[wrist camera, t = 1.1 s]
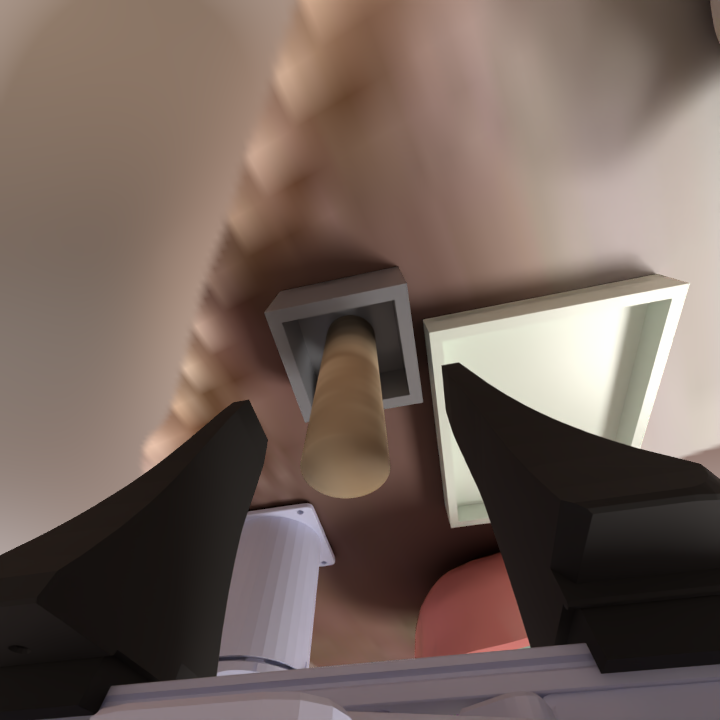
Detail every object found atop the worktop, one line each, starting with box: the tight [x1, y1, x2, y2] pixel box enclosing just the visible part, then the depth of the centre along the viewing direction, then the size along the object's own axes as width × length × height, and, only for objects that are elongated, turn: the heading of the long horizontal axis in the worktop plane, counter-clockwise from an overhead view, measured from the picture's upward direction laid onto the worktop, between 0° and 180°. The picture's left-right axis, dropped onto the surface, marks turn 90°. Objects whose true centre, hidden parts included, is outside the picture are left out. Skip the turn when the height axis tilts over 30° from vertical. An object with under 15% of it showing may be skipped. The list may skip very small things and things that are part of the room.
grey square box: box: [264, 266, 423, 422], centre depth 16 cm, size 6×6×3 cm
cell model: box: [415, 552, 531, 716], centre depth 25 cm, size 17×20×11 cm
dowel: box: [300, 315, 390, 498], centre depth 13 cm, size 3×3×9 cm
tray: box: [423, 274, 690, 528], centre depth 20 cm, size 12×16×2 cm
